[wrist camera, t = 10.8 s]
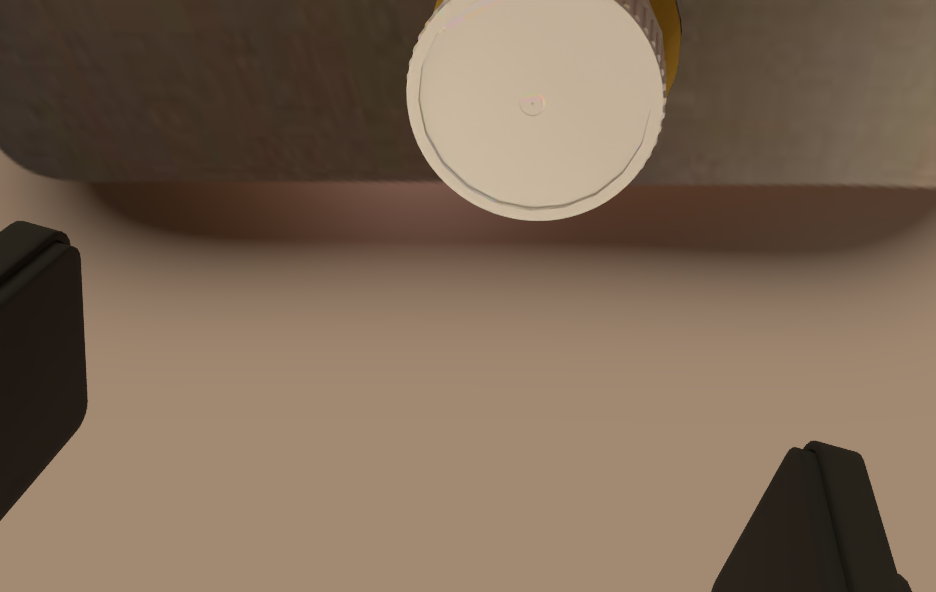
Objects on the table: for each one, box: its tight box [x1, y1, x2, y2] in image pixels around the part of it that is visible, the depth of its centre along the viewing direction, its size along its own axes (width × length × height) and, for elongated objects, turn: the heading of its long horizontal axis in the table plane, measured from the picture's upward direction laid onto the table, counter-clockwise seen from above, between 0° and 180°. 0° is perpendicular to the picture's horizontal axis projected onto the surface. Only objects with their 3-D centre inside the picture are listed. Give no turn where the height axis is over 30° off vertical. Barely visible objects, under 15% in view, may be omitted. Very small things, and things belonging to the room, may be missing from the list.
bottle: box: [406, 0, 682, 221], centre depth 27 cm, size 7×7×15 cm
